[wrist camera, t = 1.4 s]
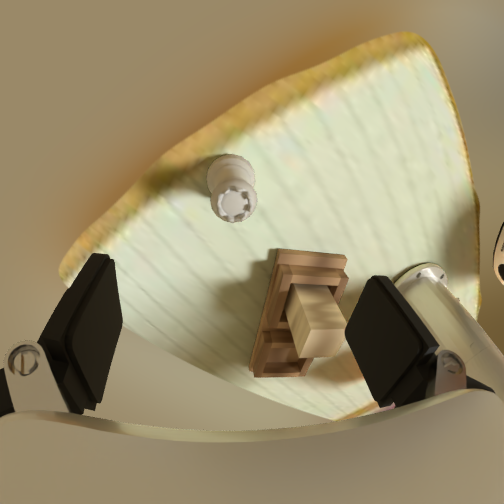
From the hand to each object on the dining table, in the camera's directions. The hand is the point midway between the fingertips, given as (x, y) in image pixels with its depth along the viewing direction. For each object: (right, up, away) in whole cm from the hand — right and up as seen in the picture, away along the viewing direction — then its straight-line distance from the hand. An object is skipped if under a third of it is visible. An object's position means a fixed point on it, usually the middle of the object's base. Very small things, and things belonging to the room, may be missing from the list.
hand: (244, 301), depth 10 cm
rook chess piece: (-2, +9, +16) cm, 18 cm away
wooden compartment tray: (+5, -7, +25) cm, 27 cm away
